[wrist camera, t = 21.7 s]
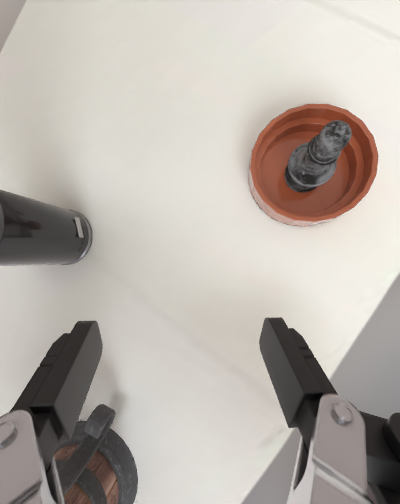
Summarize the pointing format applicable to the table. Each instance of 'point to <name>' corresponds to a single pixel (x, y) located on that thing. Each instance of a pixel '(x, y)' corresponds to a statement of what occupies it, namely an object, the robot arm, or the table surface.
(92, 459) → the tankard
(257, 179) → the bowl
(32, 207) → the robot arm
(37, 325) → the table surface
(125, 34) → the table surface
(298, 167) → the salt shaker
